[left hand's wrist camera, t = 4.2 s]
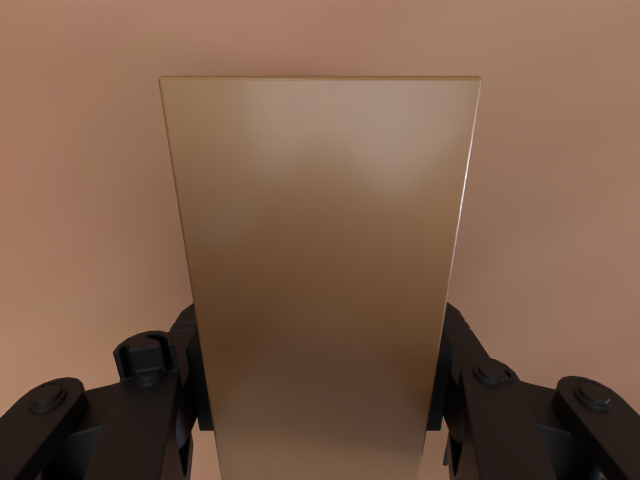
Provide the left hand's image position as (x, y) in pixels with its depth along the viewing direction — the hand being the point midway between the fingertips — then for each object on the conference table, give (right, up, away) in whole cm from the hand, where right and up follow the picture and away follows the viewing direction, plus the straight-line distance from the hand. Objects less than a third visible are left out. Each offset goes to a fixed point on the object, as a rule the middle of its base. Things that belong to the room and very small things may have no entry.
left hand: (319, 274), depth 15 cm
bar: (0, -29, +12) cm, 31 cm away
